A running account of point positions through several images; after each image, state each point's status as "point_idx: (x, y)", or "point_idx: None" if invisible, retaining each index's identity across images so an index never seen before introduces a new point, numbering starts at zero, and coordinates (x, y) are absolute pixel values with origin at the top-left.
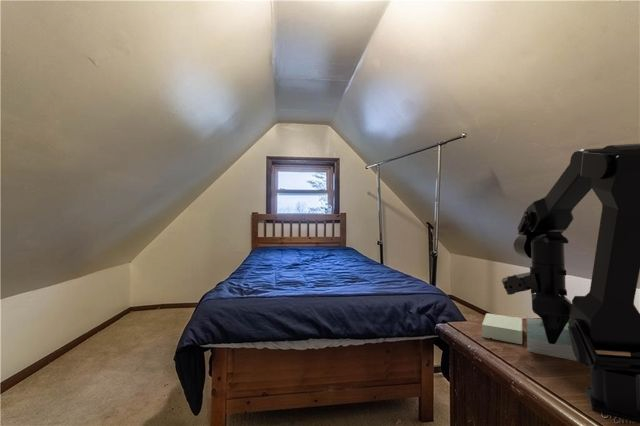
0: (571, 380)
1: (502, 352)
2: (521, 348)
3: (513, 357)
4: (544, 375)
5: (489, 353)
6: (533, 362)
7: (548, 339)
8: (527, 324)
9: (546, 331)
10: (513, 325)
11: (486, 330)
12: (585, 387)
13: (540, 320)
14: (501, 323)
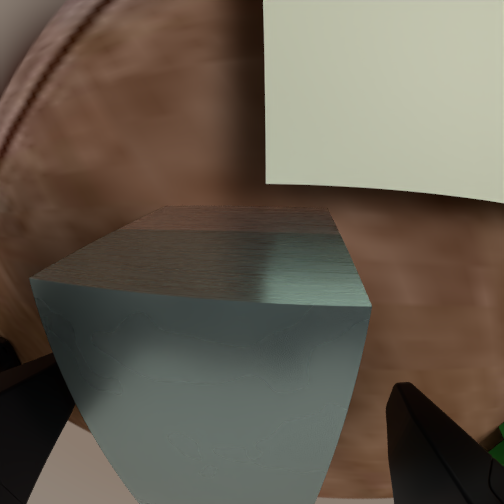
0: (27, 327)
1: (81, 89)
2: (194, 169)
3: (54, 148)
4: (4, 261)
5: (50, 51)
6: (56, 232)
7: (49, 358)
8: (32, 281)
9: (1, 378)
10: (421, 110)
11: None
12: (2, 343)
13: (275, 438)
14: (415, 7)
